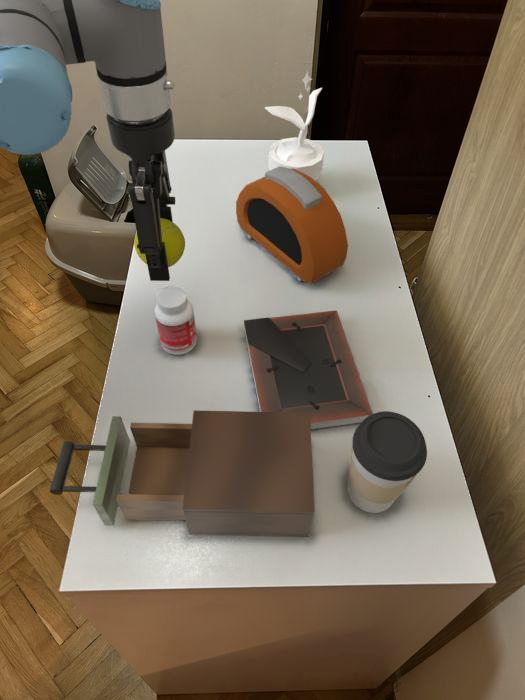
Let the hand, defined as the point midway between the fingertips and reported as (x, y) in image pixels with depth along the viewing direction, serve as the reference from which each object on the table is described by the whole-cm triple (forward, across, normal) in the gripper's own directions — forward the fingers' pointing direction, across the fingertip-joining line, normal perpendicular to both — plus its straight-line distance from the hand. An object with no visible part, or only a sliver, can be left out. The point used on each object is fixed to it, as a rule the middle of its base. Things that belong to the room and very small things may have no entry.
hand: (163, 260), depth 79 cm
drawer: (+16, -28, +2) cm, 32 cm away
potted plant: (+17, +42, -22) cm, 50 cm away
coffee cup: (+17, -28, -30) cm, 45 cm away
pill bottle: (+17, -2, -1) cm, 17 cm away
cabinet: (+17, -28, -14) cm, 35 cm away
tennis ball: (0, 0, 0) cm, 0 cm away
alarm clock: (+17, +22, -20) cm, 34 cm away
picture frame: (+17, -8, -22) cm, 29 cm away
